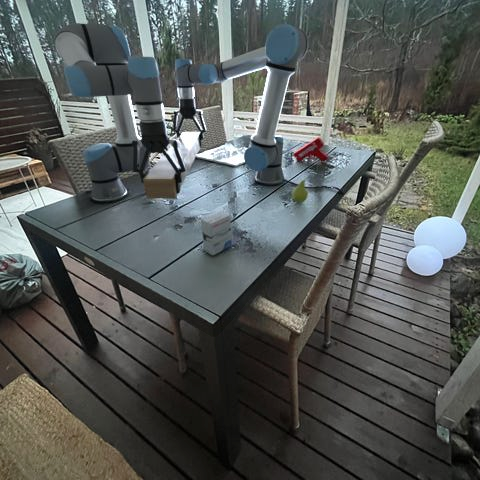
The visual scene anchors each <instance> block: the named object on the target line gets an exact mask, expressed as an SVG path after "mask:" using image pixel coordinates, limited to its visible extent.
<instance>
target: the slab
mask: <svg viewBox="0 0 480 480" xmlns="http://www.w3.org/2000/svg"><path fill="white" fill-rule="evenodd" d="M181 133H182V134H181V135H180V136H179V137H177V138H176V139H178V140H179V148H180V151H181V154H182V156H183V159H184V162H185V164H186V167H187V169H186V171H185V172H182V182H181V183H180V189H181V188H182V186H183V184H184V181H186V178H187V176H188V173H189V171H190V170H191V167H192V165H193V164H194V161H195V159H196V155H197V154H199V151H200V149H201V147H200V141H199V133H200V131H183V132H181ZM168 149H169V151H170V153H171V155H172V156H173V158H174V159H175V161H176V162H177V164H178V165H179V162H178V159H177V157H176V154H175V151H174V147H172V146H171V145H170V147H169V148H168ZM179 167H180V165H179ZM180 168H181V167H180ZM175 172H176V171H175V170H174V168H173V167H172V166H171V164H170V163H169V161H168V160H167V158H166V157H165V156H164V155H163V154H162V156H161V157H160V159H159V160H157V162H156V163H155V164H154V165H153V166H152V168H151V169H150V170H149V171H148V174H147V175H146V176H145V177H144V179H143V182H144V183H143V186H144V191H145V195H146V199H148V200H149V199H152V200H155V199H167V200H168V199H170V200H171V199H176V198H177V196H178V194H179V193H177V190H176V183H175V176H174V174H175Z"/></svg>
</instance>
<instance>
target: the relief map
mask: <svg viewBox="0 0 480 480" xmlns="http://www.w3.org/2000/svg"><path fill="white" fill-rule="evenodd" d="M247 148H248V147H246V146H243V147H241V148H237V147H234V145H233V144H232V143H227V142H226V143H224V144H223V145H220V146H219V147H215V148H212V149H209V150H206V149H205V151H202V152H201V153H197V155H196V157H195V159H196V158H197V159H202V160H206V161H210V162H213V163H218V164H223V165H226V166H227V165H228V166H232V167H238V166H241V165H242V164H246V163H245V160H244V152H245V150H246V149H247Z"/></svg>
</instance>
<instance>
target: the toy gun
mask: <svg viewBox="0 0 480 480" xmlns="http://www.w3.org/2000/svg"><path fill="white" fill-rule="evenodd" d="M324 145H325V143H324V141H323V140H322V138H321V137H320V136H317V137H316V138H314V139H313V140H311V141H310V142H308V143H306V144H305V145H303V146H302V147H301V148H299V149H298V150H296V151H295V152H294V153H293V156H294V158H295V160H296V162H301V161H302V160H304V159H306V158H309V160H310V159H314V158H317V159H318V160H319V161H321V162H320V163H321V164H324V162H322V161H325V160H326V162H328V158H329V155H328V154H327V153H325V152H324V151H323V150H322V148H323V147H324Z"/></svg>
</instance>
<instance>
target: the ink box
mask: <svg viewBox="0 0 480 480" xmlns="http://www.w3.org/2000/svg"><path fill="white" fill-rule="evenodd" d="M231 222H232V221H231V215H230V214H228V213H227V212H224V211H222V210H220V211H217V212H216V213H215V212H214V213H213V214H209V215H208V216H205V217H203V218H201V219H200V223H201V232H202V233H201V235H202V243H203V251H205V252H206V253H208V254H209V255H211V256H213V257H214V256H215V255H217V254H219V253H221V252H222V251H224V250H226V249H227V248H229V247H231V246H232V226H231V225H232V224H231Z"/></svg>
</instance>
